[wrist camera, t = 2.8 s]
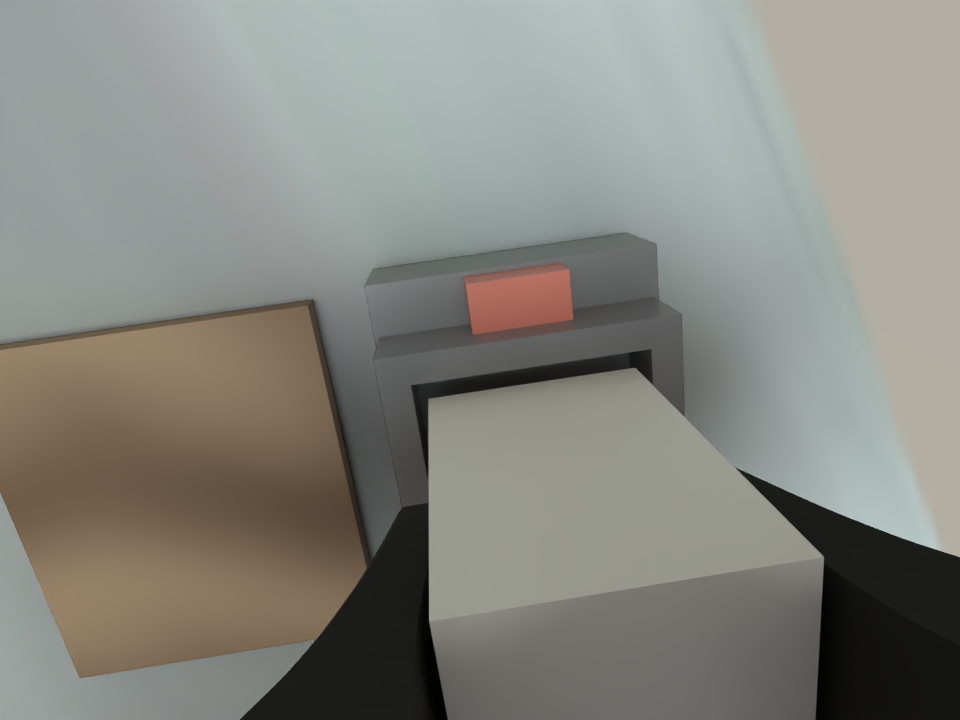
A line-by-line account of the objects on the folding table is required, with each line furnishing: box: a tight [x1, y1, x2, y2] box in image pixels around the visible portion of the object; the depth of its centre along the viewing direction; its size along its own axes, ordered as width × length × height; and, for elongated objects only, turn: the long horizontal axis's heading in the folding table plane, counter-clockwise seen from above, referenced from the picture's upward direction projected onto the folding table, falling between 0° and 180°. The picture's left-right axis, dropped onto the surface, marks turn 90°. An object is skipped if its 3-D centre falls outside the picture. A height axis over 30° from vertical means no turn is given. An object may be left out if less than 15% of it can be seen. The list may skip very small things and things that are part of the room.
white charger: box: [428, 368, 824, 720], centre depth 10 cm, size 4×4×6 cm
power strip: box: [364, 233, 684, 508], centre depth 17 cm, size 24×6×4 cm, turn 7°
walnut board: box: [0, 300, 370, 678], centre depth 16 cm, size 9×8×1 cm
